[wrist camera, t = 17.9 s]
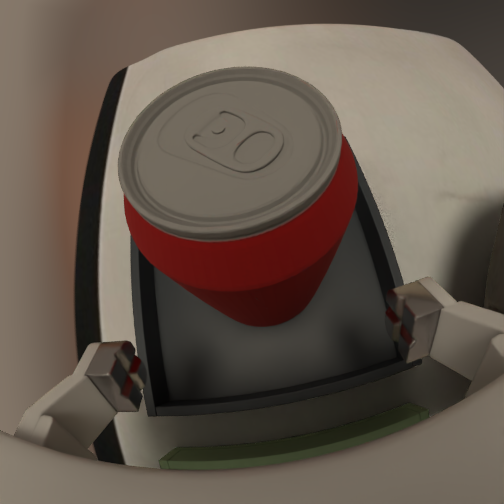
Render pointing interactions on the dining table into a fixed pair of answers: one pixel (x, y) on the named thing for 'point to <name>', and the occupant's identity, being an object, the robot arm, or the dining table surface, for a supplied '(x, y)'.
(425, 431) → the robot arm
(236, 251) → the beverage can
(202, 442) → the dining table surface
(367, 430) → the sage tray
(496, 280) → the bowl
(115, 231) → the dining table surface
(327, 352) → the slate tray
